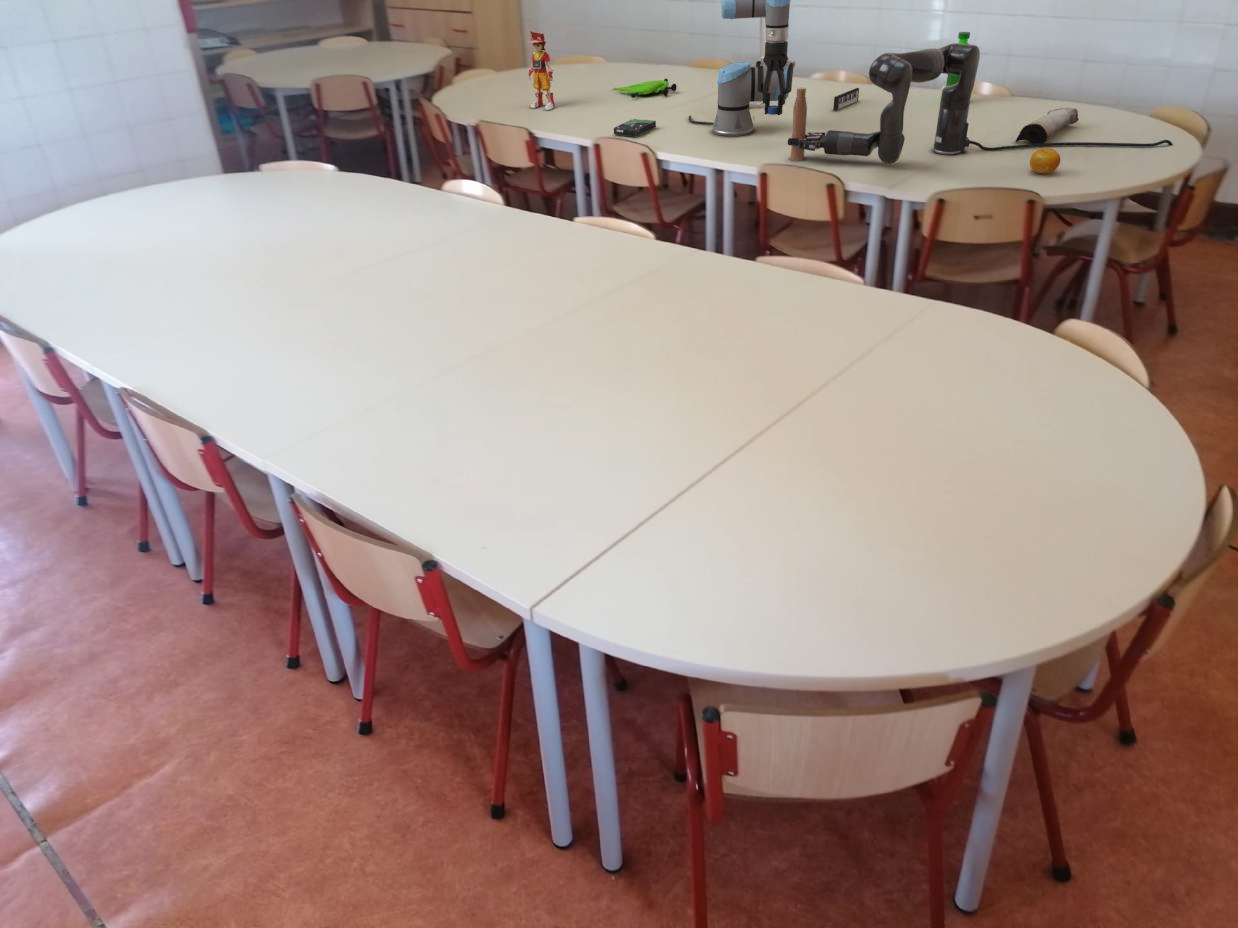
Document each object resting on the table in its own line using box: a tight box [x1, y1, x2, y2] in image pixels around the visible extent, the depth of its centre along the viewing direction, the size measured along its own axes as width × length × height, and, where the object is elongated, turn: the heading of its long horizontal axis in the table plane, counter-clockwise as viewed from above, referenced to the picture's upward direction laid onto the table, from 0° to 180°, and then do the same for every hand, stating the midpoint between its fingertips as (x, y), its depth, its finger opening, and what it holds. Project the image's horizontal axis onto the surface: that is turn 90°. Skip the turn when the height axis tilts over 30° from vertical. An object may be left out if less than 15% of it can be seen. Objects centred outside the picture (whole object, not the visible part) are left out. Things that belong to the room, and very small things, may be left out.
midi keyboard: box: [832, 87, 860, 111], centre depth 357 cm, size 18×1×5 cm, turn 138°
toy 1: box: [527, 31, 556, 111], centre depth 374 cm, size 12×9×30 cm
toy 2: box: [612, 78, 677, 99], centre depth 396 cm, size 28×5×30 cm
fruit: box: [1029, 147, 1062, 174], centre depth 277 cm, size 8×8×8 cm
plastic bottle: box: [943, 31, 971, 88], centre depth 348 cm, size 10×10×25 cm
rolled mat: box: [1014, 107, 1080, 144], centre depth 311 cm, size 30×9×10 cm
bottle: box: [790, 86, 808, 162], centre depth 298 cm, size 4×4×23 cm
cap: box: [767, 104, 778, 116], centre depth 312 cm, size 4×4×2 cm
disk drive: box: [613, 118, 657, 138], centre depth 342 cm, size 10×3×15 cm
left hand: (773, 113), depth 313 cm, fingers closed on cap, 4 cm apart
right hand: (790, 139), depth 302 cm, fingers closed on bottle, 4 cm apart
